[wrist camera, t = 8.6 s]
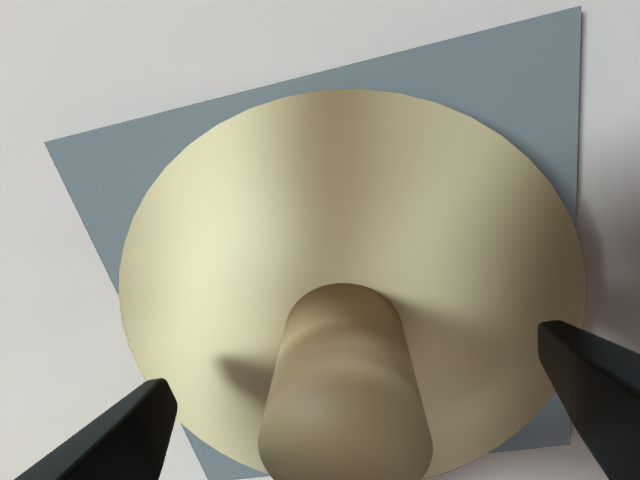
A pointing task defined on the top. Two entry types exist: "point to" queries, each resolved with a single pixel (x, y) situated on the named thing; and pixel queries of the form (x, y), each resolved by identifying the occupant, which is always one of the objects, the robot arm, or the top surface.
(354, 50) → the top surface
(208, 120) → the mat
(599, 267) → the top surface
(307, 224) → the lid
